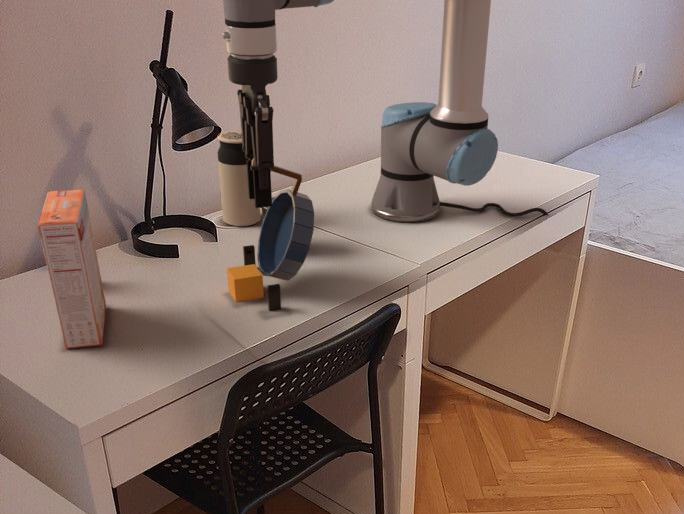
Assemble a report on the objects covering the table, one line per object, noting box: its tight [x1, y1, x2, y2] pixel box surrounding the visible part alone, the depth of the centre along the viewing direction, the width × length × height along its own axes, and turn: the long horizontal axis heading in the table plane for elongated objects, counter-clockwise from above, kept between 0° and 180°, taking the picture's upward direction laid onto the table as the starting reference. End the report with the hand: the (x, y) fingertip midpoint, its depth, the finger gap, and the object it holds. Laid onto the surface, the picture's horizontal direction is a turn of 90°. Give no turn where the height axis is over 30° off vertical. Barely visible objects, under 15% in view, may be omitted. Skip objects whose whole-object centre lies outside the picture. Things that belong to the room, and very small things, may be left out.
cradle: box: [242, 244, 282, 312], centre depth 145 cm, size 4×19×5 cm, turn 22°
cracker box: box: [37, 189, 107, 350], centre depth 127 cm, size 14×6×21 cm, turn 13°
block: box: [226, 264, 265, 303], centre depth 142 cm, size 5×5×5 cm
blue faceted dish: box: [251, 158, 315, 282], centre depth 139 cm, size 20×15×12 cm
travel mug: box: [216, 130, 261, 227], centre depth 170 cm, size 8×8×18 cm
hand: (260, 201), depth 137 cm, fingers closed on blue faceted dish, 4 cm apart
